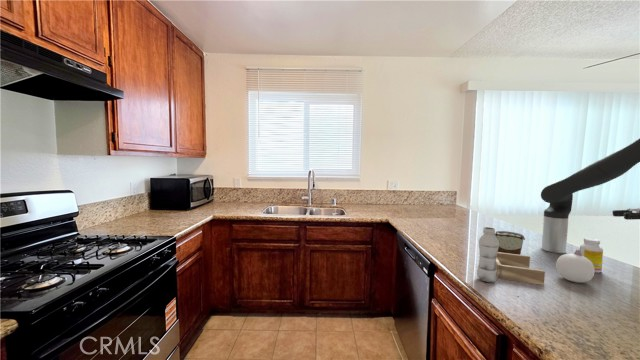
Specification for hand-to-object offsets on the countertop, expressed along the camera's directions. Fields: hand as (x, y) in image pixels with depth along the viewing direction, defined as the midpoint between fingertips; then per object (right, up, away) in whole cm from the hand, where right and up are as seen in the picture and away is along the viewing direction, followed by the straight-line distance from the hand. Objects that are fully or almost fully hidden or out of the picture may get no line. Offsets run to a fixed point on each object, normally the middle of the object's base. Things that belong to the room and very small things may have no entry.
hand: (618, 214), depth 92 cm
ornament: (-10, -26, +6) cm, 28 cm away
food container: (-13, -24, +37) cm, 45 cm away
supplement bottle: (+7, -25, +16) cm, 31 cm away
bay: (-26, -25, +13) cm, 39 cm away
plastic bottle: (-43, -26, +6) cm, 50 cm away
